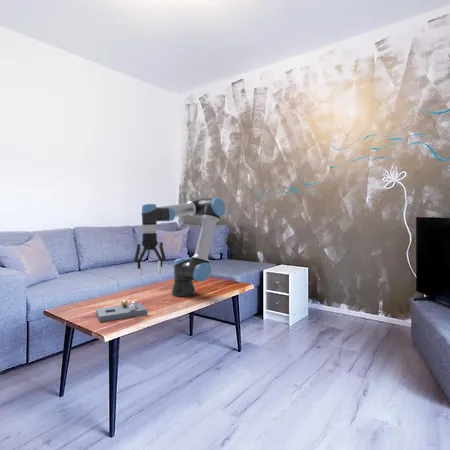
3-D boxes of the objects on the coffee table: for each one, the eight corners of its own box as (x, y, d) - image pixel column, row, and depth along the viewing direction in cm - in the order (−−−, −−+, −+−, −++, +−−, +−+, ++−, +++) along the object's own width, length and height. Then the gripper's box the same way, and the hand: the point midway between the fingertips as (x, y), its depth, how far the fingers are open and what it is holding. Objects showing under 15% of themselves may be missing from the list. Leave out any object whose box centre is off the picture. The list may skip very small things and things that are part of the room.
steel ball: (136, 306, 171) (136, 300, 170) (137, 307, 168) (137, 301, 168) (130, 307, 169) (130, 301, 169) (131, 308, 166) (131, 302, 166)
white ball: (134, 309, 165) (134, 303, 165) (136, 310, 162) (136, 304, 162) (128, 310, 164) (128, 304, 164) (129, 311, 161) (129, 305, 161)
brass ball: (127, 305, 173) (126, 299, 173) (128, 306, 170) (128, 300, 170) (120, 306, 171) (120, 300, 171) (122, 307, 168) (121, 301, 168)
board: (140, 307, 177) (140, 302, 177) (147, 314, 165) (146, 309, 165) (96, 313, 166) (96, 309, 166) (99, 321, 154) (99, 316, 154)
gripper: (167, 231, 180) (167, 270, 181) (127, 233, 169) (128, 274, 170) (171, 232, 173) (172, 273, 174) (130, 233, 163) (131, 277, 164)
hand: (150, 273), depth 172 cm, fingers open, 9 cm apart
